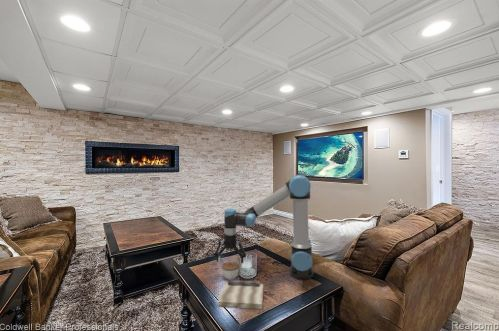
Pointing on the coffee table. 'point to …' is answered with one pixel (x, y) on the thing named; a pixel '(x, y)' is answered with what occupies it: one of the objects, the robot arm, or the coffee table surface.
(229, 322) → the coffee table surface
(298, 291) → the coffee table surface
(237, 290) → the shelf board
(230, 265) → the lidded jar
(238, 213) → the robot arm
